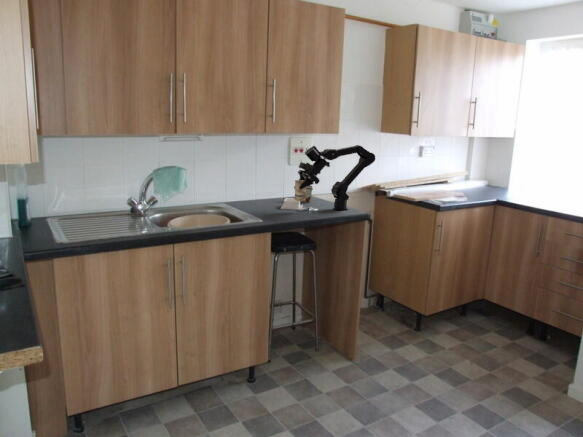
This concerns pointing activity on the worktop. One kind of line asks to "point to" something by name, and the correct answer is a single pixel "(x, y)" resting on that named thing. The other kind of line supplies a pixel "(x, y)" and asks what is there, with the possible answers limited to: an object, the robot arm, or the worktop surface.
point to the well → (291, 204)
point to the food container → (308, 194)
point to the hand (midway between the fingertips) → (298, 187)
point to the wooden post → (300, 191)
